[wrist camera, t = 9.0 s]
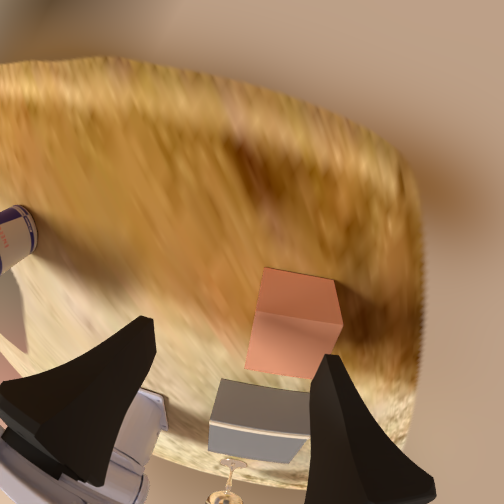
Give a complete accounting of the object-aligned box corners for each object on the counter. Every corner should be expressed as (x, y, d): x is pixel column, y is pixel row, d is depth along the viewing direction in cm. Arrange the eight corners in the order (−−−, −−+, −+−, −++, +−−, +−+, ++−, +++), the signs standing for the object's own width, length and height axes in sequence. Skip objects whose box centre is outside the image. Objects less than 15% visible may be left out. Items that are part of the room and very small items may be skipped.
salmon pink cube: (315, 332, 22) (318, 379, 17) (253, 321, 22) (244, 368, 17) (333, 280, 19) (343, 325, 15) (264, 267, 20) (256, 310, 15)
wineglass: (251, 470, 37) (241, 529, 26) (218, 466, 38) (204, 523, 27) (250, 459, 35) (238, 525, 24) (213, 454, 35) (197, 518, 24)
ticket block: (290, 428, 29) (288, 465, 24) (216, 416, 29) (207, 452, 25) (310, 393, 25) (310, 436, 21) (221, 378, 26) (209, 421, 21)
